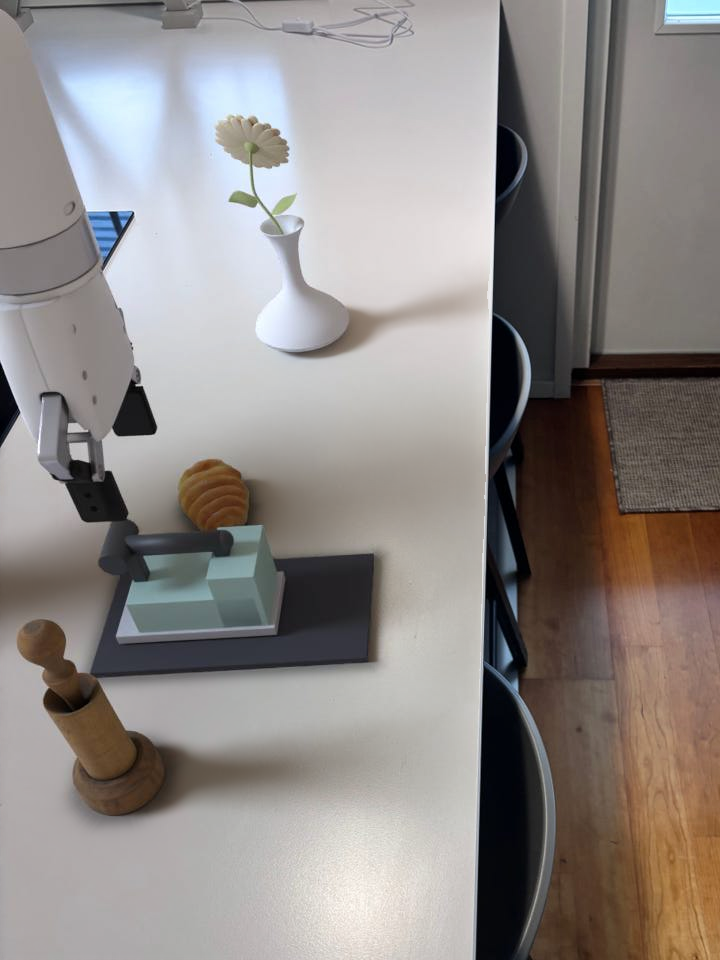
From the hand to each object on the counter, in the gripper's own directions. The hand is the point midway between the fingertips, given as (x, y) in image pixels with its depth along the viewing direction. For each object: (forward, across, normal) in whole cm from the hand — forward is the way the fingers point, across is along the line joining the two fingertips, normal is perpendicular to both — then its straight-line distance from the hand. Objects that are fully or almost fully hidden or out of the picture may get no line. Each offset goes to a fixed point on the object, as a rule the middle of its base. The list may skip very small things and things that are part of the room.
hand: (122, 474), depth 72 cm
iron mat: (+20, -4, +3) cm, 20 cm away
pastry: (+20, -19, -1) cm, 28 cm away
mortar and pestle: (+20, +13, -3) cm, 24 cm away
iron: (+19, -4, 0) cm, 19 cm away
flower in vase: (+20, -51, +4) cm, 55 cm away
